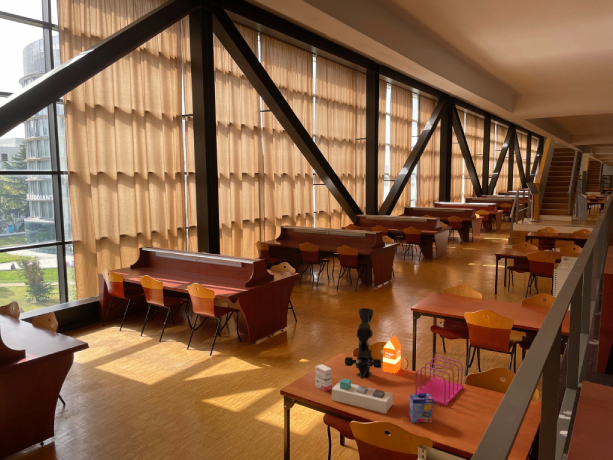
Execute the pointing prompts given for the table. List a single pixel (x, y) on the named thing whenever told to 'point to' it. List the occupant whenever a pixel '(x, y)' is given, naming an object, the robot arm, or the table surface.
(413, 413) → the ink cartridge box
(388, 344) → the orange juice
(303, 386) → the table surface
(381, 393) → the charcoal key
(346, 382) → the teal key
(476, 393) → the table surface
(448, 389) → the file sorter
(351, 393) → the keypad
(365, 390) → the slate key
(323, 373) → the ink box
